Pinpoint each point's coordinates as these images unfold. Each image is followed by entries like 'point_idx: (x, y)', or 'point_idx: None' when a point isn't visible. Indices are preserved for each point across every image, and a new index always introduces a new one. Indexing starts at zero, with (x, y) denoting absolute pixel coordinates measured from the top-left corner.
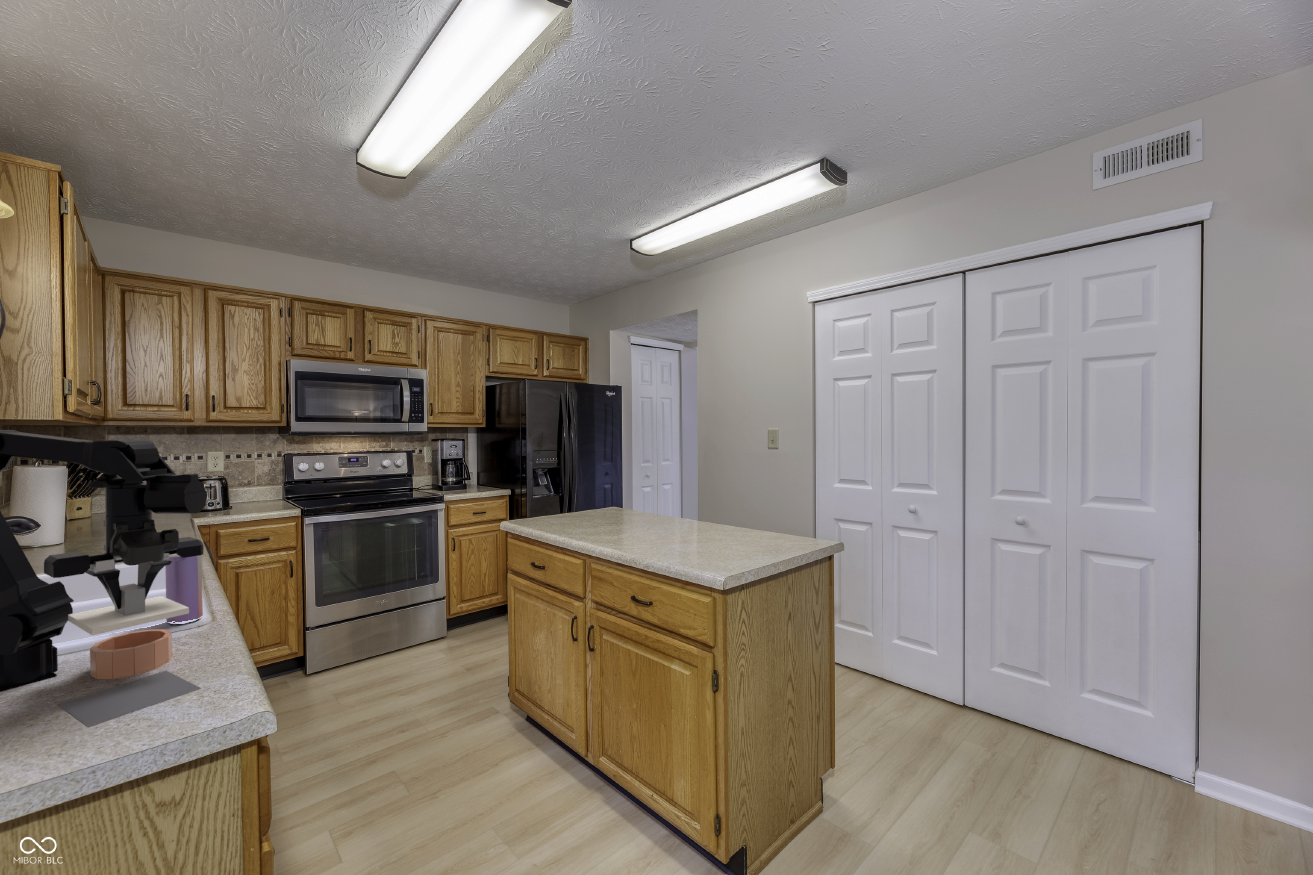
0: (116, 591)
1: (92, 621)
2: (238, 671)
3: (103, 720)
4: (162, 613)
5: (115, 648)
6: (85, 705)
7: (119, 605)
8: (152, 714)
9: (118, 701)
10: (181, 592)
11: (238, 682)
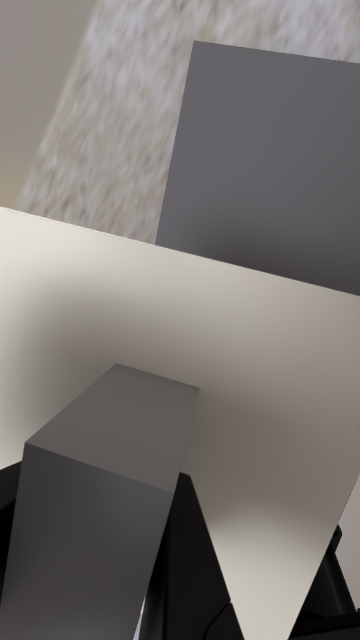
0: (194, 580)
1: (322, 455)
2: (78, 92)
3: None
4: (100, 232)
5: None
6: (351, 245)
7: (182, 483)
8: (332, 17)
9: (314, 185)
10: None
11: (124, 4)
